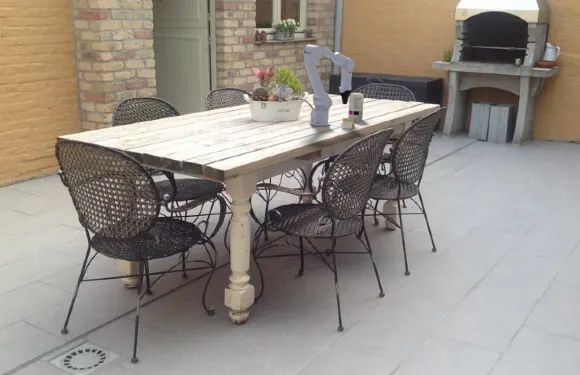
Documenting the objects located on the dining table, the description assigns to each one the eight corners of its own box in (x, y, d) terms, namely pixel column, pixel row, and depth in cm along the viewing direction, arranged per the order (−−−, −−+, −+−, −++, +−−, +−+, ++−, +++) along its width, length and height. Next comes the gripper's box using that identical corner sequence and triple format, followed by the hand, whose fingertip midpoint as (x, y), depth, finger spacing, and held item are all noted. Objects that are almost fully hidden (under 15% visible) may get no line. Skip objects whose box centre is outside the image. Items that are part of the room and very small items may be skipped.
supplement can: (346, 119, 362) (347, 93, 358) (351, 117, 369) (353, 92, 365) (359, 121, 359) (360, 95, 355) (364, 119, 366) (366, 93, 362)
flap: (342, 118, 336) (341, 125, 332) (353, 118, 336) (352, 125, 331) (342, 122, 338) (341, 129, 334) (353, 123, 338) (352, 130, 333)
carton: (342, 124, 345) (343, 121, 345) (354, 125, 344) (354, 122, 344) (341, 127, 339) (342, 123, 338) (353, 127, 338) (353, 124, 337)
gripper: (343, 78, 354) (342, 101, 358) (335, 80, 341) (333, 105, 345) (355, 78, 351) (353, 102, 355) (347, 81, 339) (345, 106, 342)
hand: (344, 104), depth 350 cm, fingers closed
